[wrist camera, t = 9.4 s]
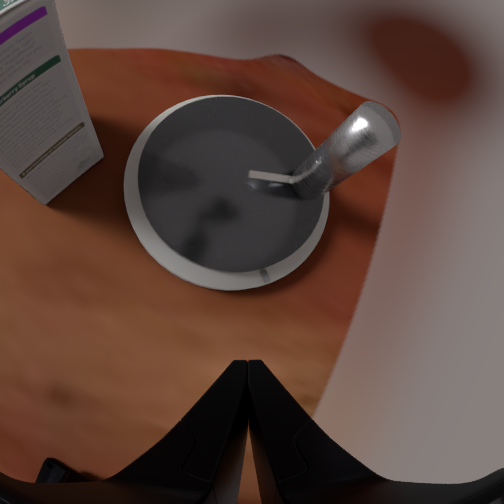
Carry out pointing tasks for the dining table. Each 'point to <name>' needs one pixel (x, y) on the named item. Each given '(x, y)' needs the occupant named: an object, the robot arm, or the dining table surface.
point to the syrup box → (41, 103)
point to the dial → (248, 178)
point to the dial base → (184, 267)
